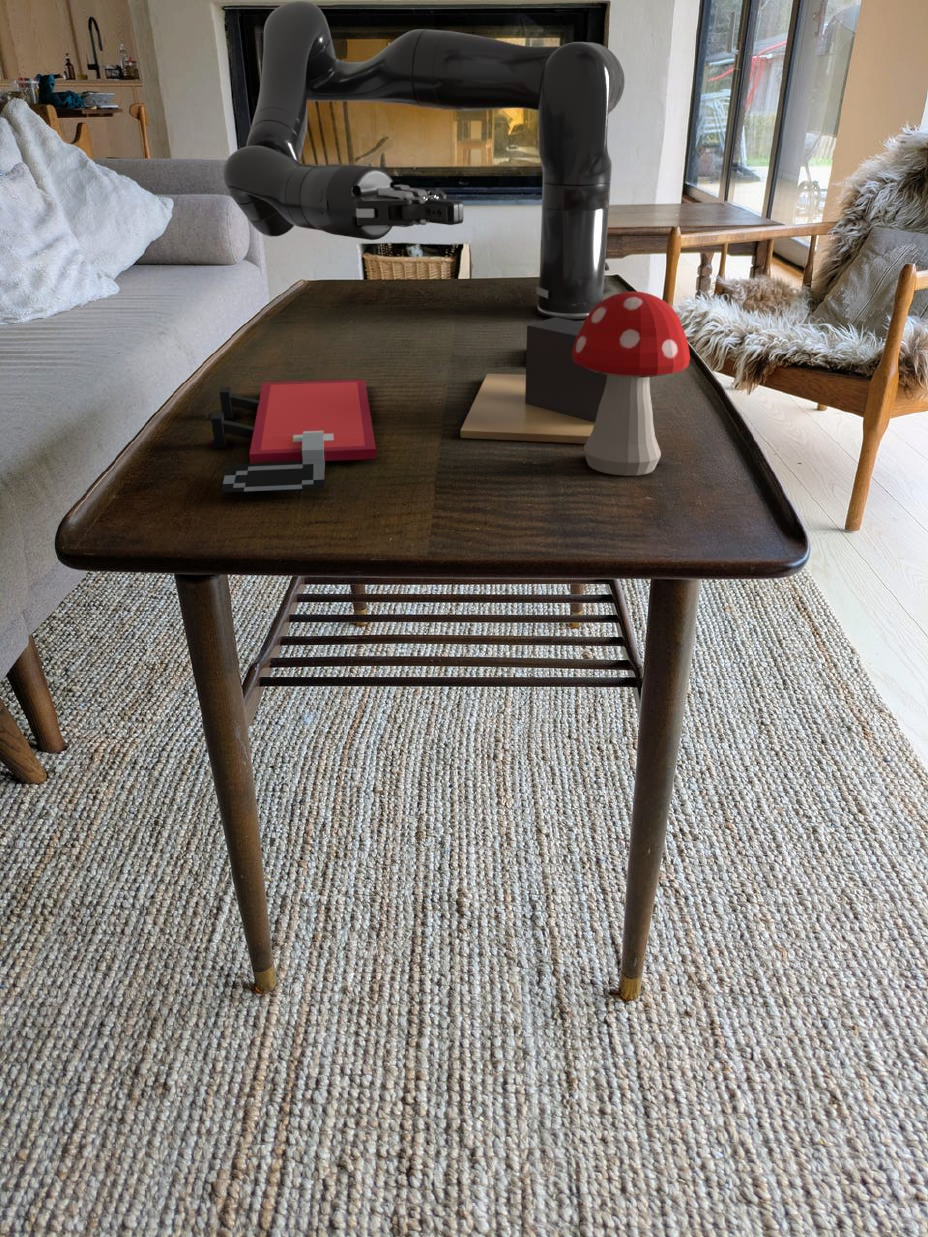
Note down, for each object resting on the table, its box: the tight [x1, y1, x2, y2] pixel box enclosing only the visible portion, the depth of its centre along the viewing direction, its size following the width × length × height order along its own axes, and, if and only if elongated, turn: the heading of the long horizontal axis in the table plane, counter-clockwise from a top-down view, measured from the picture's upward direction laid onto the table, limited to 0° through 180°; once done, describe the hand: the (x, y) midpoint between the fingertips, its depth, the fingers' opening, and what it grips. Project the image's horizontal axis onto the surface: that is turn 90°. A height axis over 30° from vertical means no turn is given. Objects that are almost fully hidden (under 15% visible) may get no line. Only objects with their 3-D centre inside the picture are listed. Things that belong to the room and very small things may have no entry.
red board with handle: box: [210, 379, 377, 494], centre depth 87 cm, size 30×3×15 cm
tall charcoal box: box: [525, 317, 607, 423], centre depth 90 cm, size 8×5×10 cm
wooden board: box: [459, 373, 595, 445], centre depth 94 cm, size 19×17×1 cm
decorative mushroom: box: [572, 290, 691, 476], centre depth 77 cm, size 10×9×15 cm
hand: (458, 213), depth 94 cm, fingers closed
